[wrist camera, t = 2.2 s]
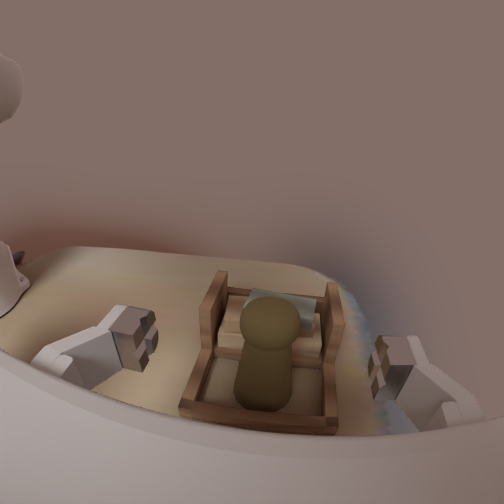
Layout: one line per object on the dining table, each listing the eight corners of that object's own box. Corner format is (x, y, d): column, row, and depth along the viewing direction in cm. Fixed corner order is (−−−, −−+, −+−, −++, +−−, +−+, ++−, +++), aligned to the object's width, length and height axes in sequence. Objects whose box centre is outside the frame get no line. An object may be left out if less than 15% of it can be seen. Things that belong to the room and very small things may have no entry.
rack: (334, 434, 24) (355, 391, 21) (180, 415, 25) (169, 368, 22) (326, 321, 40) (335, 278, 37) (220, 310, 42) (220, 266, 39)
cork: (224, 378, 30) (224, 294, 26) (274, 364, 33) (285, 281, 28) (247, 420, 25) (253, 338, 21) (302, 400, 28) (323, 317, 23)
